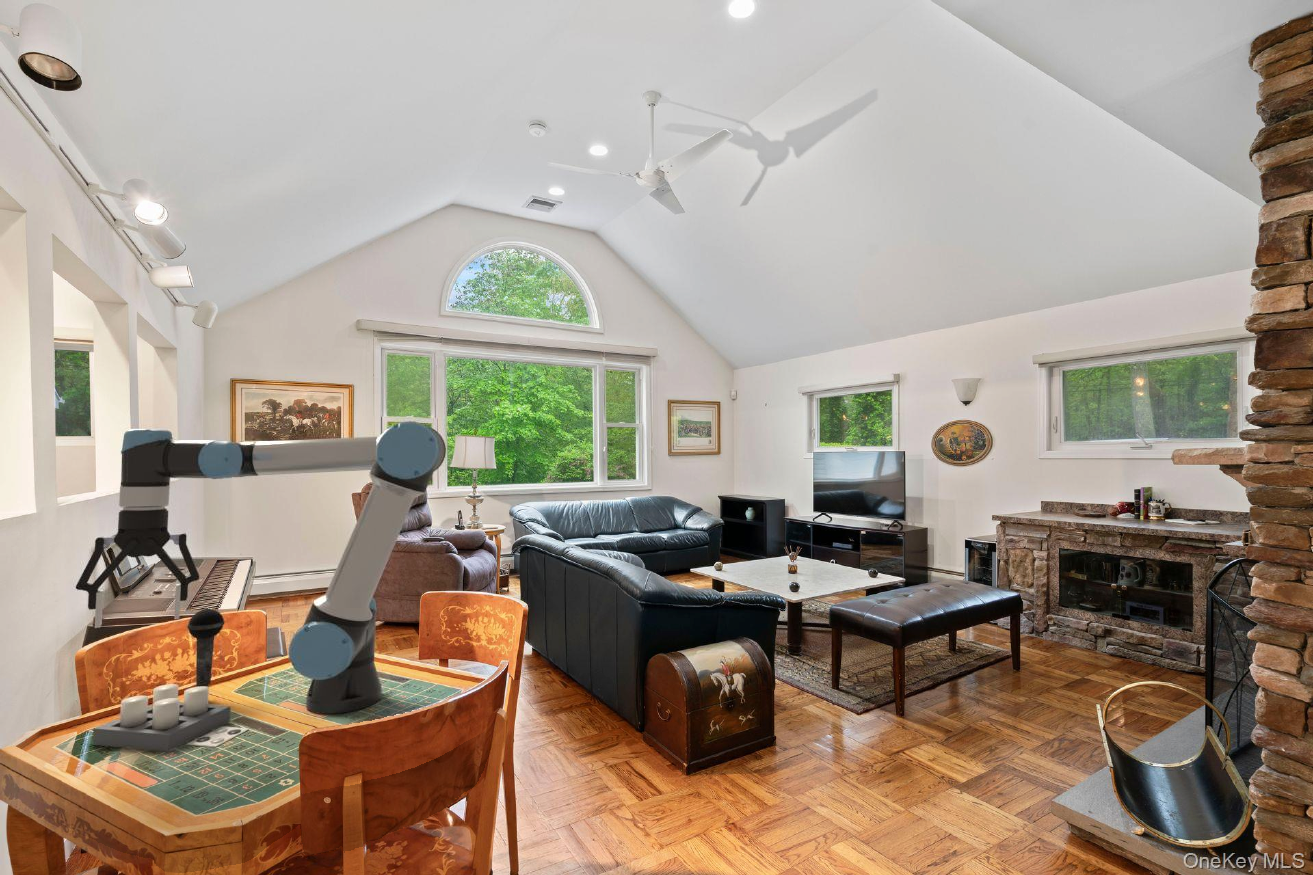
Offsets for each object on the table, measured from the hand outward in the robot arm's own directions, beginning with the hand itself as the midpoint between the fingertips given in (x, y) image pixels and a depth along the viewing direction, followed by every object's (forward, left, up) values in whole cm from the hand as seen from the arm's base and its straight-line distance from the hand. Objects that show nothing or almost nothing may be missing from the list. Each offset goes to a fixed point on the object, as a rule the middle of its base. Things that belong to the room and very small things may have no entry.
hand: (138, 621), depth 122 cm
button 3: (-7, 0, -19) cm, 20 cm away
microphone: (+3, -19, -22) cm, 30 cm away
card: (-16, -3, -22) cm, 27 cm away
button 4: (-7, -6, -19) cm, 22 cm away
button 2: (0, -7, -19) cm, 20 cm away
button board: (-4, -3, -22) cm, 23 cm away
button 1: (0, 0, -19) cm, 19 cm away
